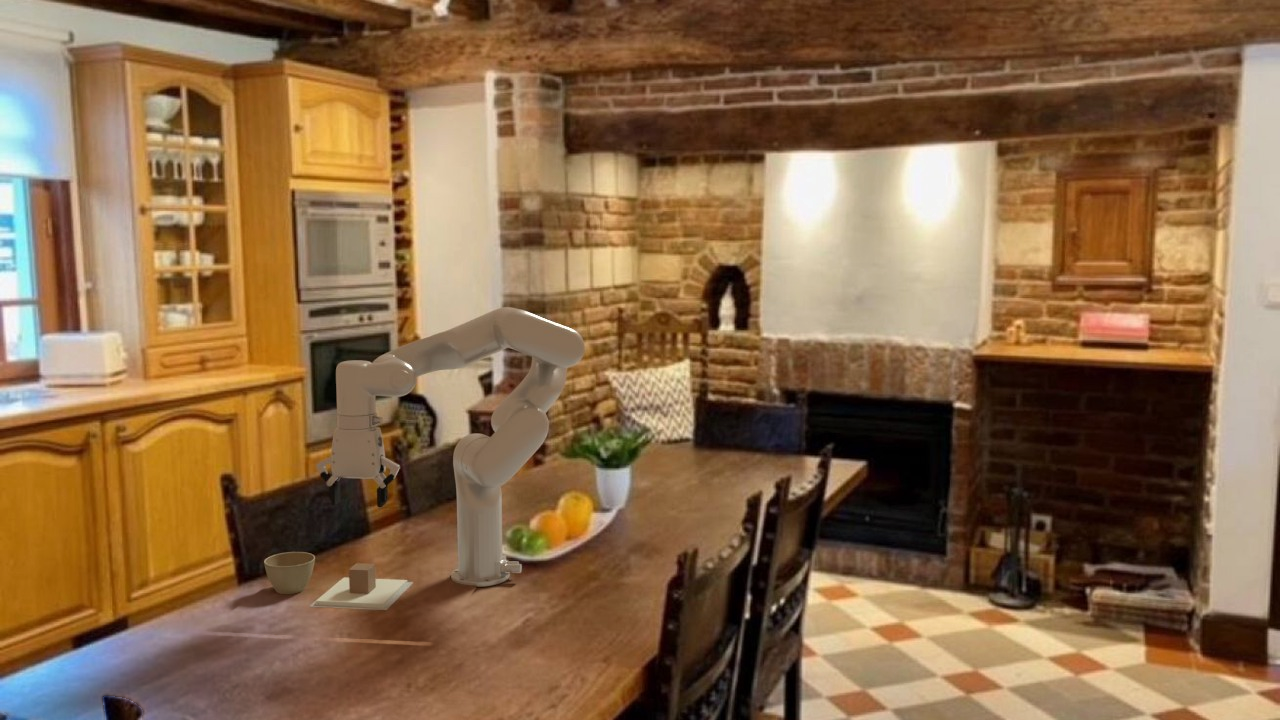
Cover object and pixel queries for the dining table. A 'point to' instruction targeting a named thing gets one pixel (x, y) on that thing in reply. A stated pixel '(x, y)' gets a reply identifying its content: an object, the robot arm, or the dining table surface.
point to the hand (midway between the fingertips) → (358, 504)
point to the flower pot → (289, 571)
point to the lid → (362, 589)
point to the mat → (368, 607)
